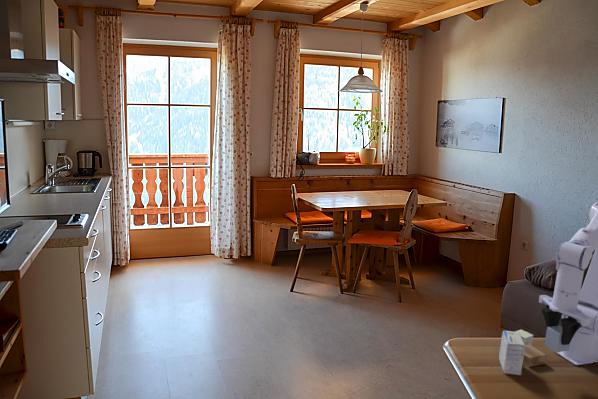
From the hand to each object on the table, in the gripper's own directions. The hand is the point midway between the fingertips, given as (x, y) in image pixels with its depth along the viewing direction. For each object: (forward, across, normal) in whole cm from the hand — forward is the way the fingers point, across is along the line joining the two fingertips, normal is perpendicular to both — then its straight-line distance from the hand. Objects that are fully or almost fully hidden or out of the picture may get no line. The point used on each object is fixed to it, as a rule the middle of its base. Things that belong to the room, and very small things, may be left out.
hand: (558, 339), depth 135 cm
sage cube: (+10, -16, +4) cm, 19 cm away
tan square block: (+11, -8, 0) cm, 14 cm away
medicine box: (+11, -7, -8) cm, 15 cm away
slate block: (+2, 0, 0) cm, 2 cm away
